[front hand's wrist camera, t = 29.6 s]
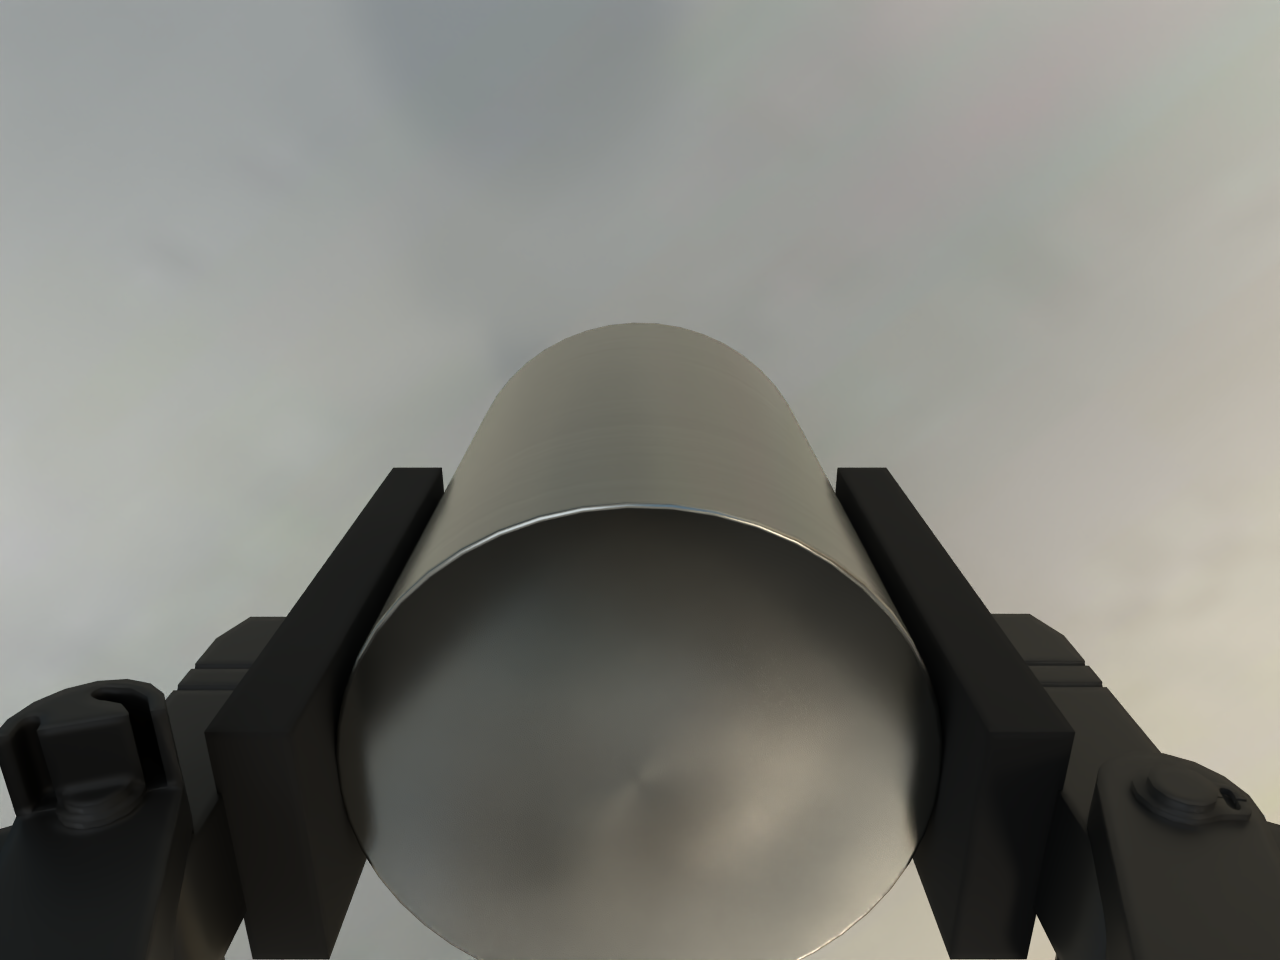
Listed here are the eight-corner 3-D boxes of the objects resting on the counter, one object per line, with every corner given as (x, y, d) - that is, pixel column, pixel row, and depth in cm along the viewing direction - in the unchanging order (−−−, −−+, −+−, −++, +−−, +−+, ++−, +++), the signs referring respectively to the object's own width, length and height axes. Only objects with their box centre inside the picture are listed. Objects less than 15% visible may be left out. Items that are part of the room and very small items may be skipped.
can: (780, 647, 18) (880, 1017, 10) (467, 621, 17) (342, 980, 10) (834, 339, 15) (1011, 534, 8) (476, 305, 15) (323, 473, 8)
